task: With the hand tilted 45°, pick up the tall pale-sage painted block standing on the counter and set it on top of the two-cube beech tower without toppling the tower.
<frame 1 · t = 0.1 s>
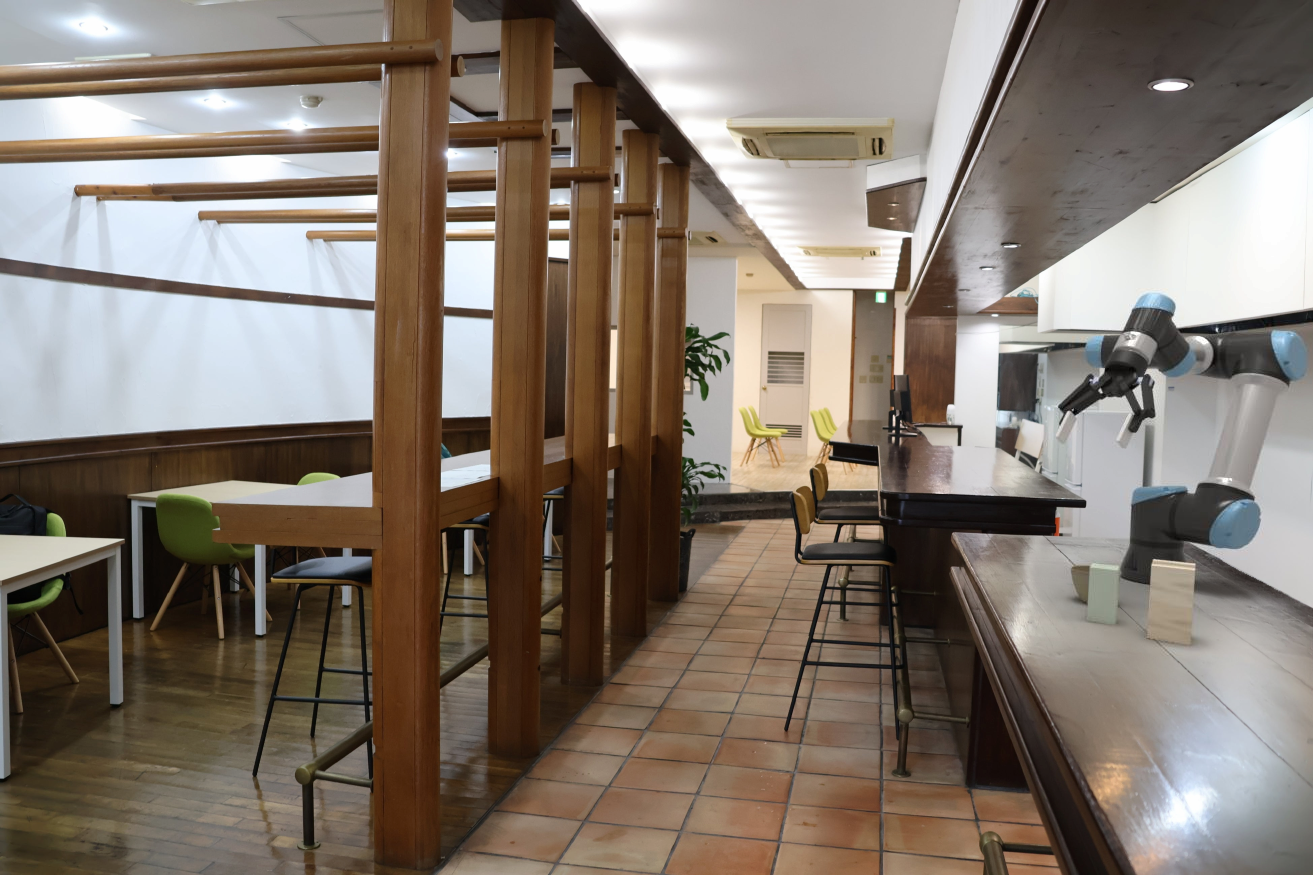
hand: (1089, 442, 180), 36 cm above the counter, tool tilted 35°, fingers open, 13 cm apart
tower base: (1169, 637, 168), on the counter, touching tower top
flower pot: (1094, 602, 194), on the counter
sage block: (1102, 620, 179), on the counter
tower top: (1171, 601, 167), point 7 cm above the counter, touching tower base
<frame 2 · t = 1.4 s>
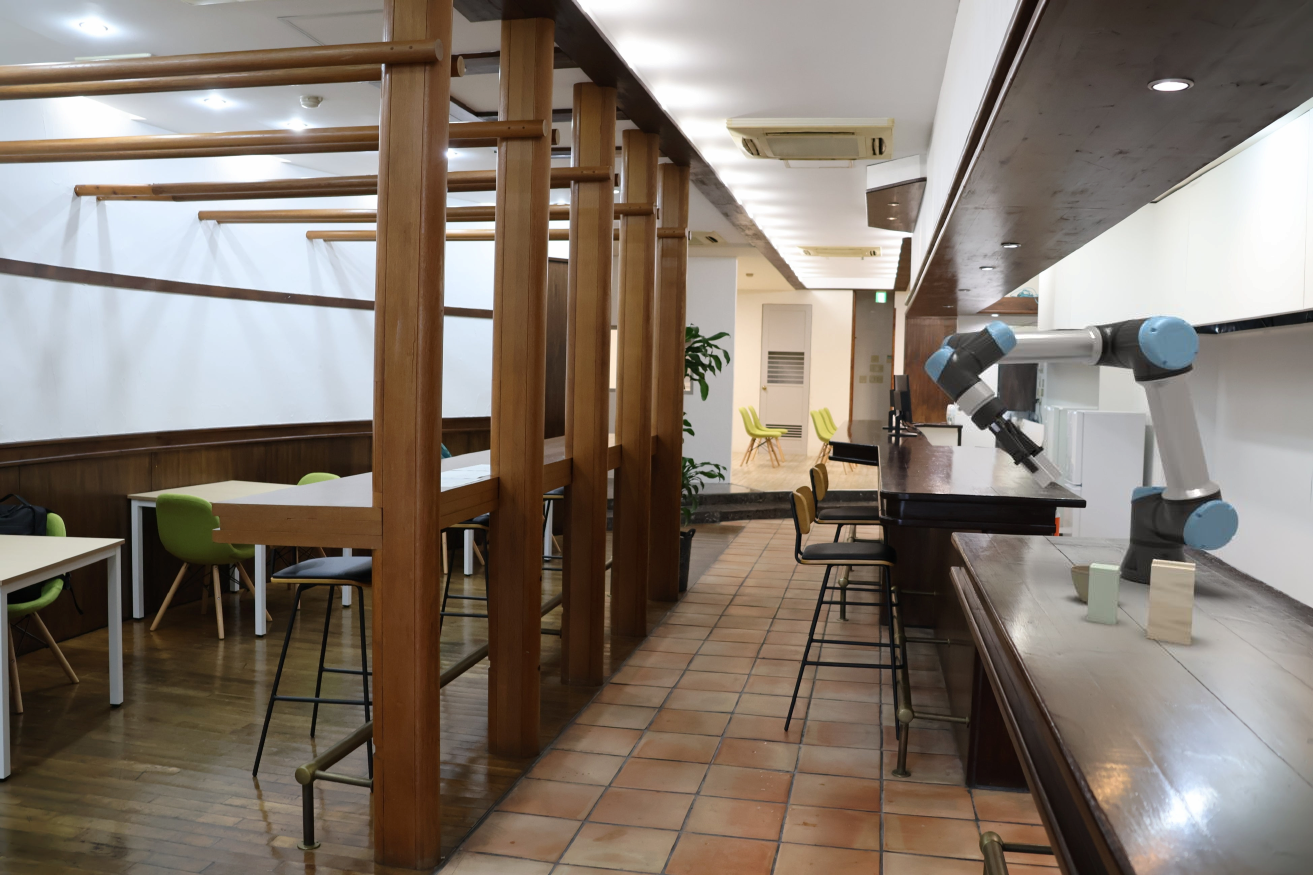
hand: (1053, 481, 186), 27 cm above the counter, tool tilted 45°, fingers open, 13 cm apart
nothing on the counter moved.
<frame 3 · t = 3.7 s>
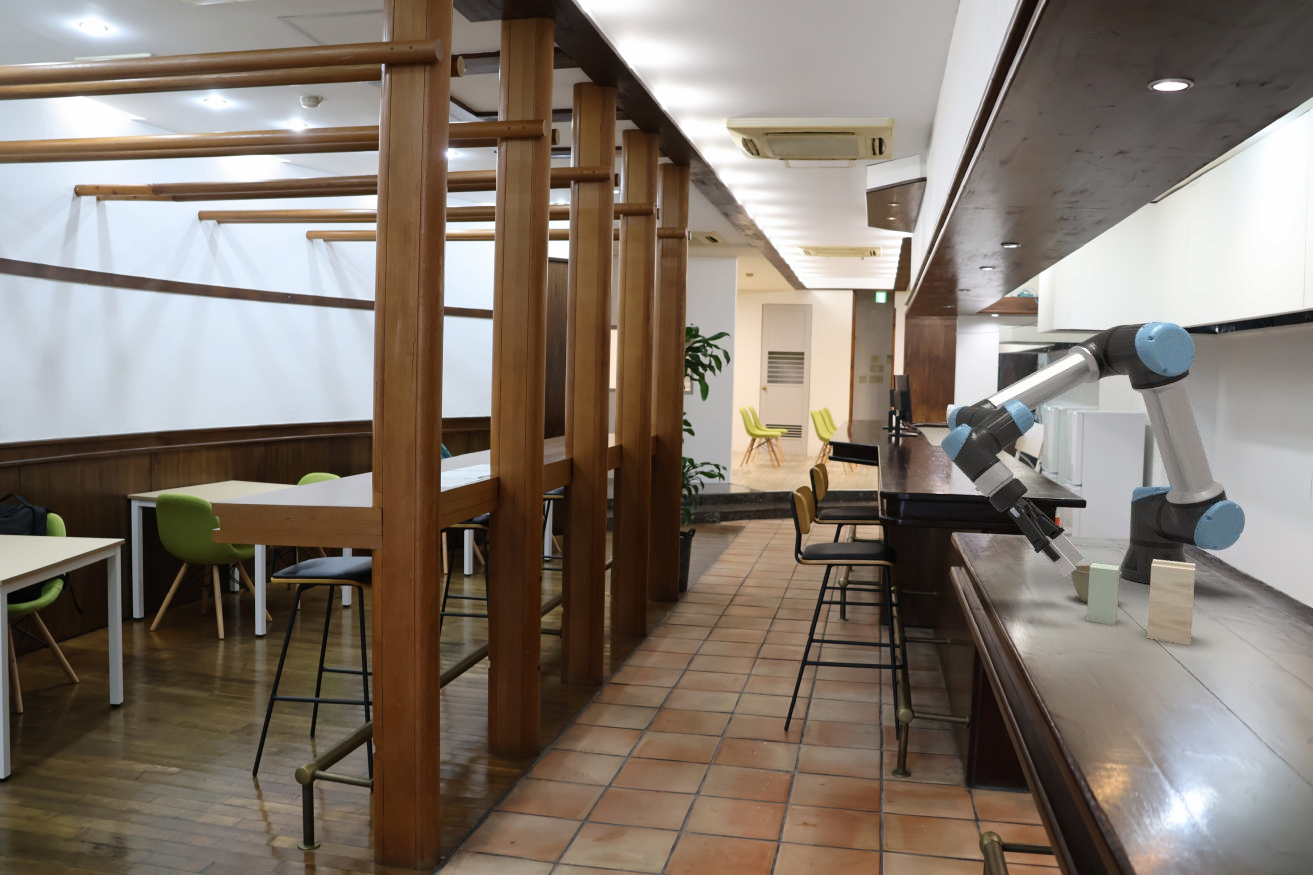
hand: (1075, 567, 180), 10 cm above the counter, tool tilted 45°, fingers open, 13 cm apart
nothing on the counter moved.
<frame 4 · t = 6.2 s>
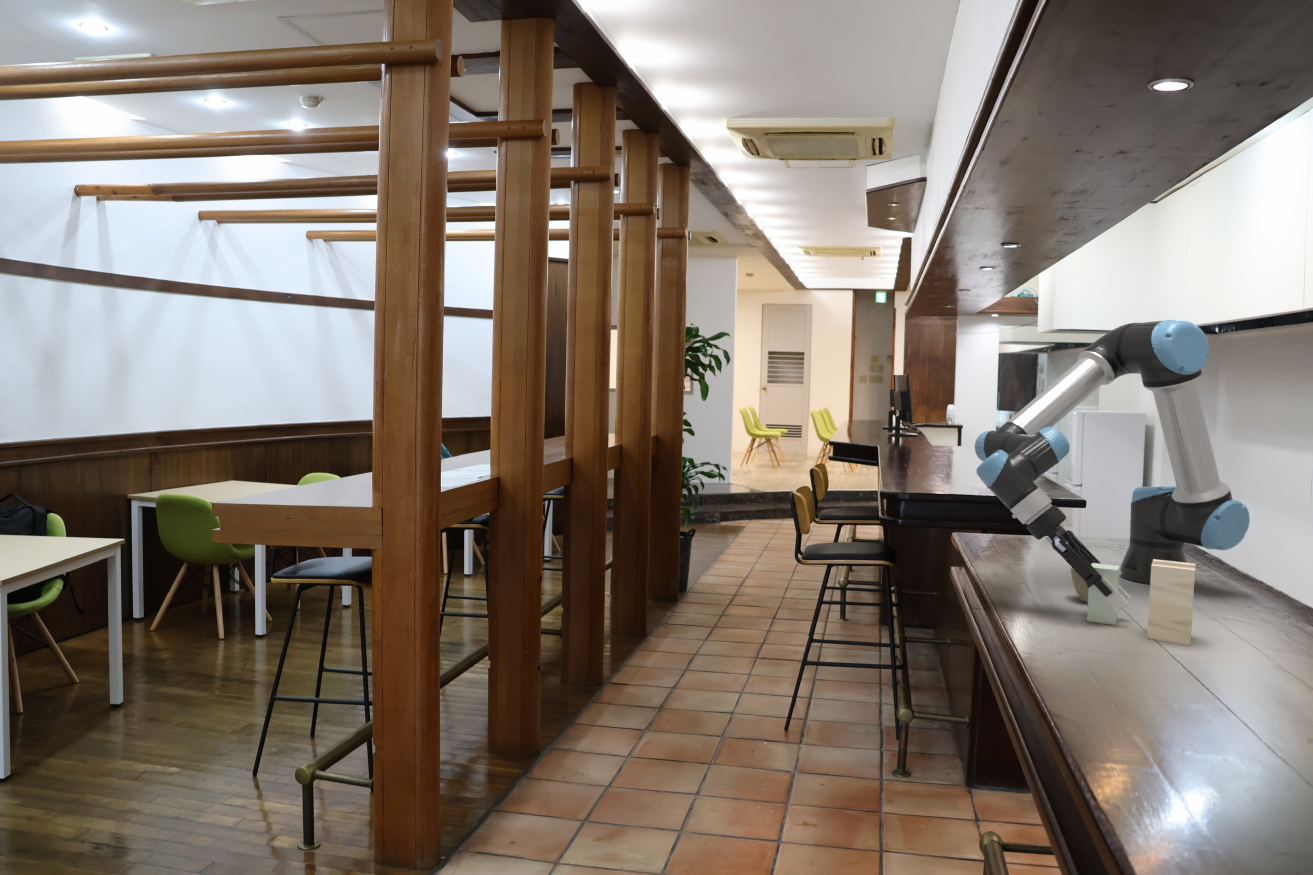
hand: (1123, 604, 177), 4 cm above the counter, tool tilted 45°, fingers closed on sage block, 5 cm apart
sage block: (1102, 620, 179), on the counter, touching gripper
everything else where it was.
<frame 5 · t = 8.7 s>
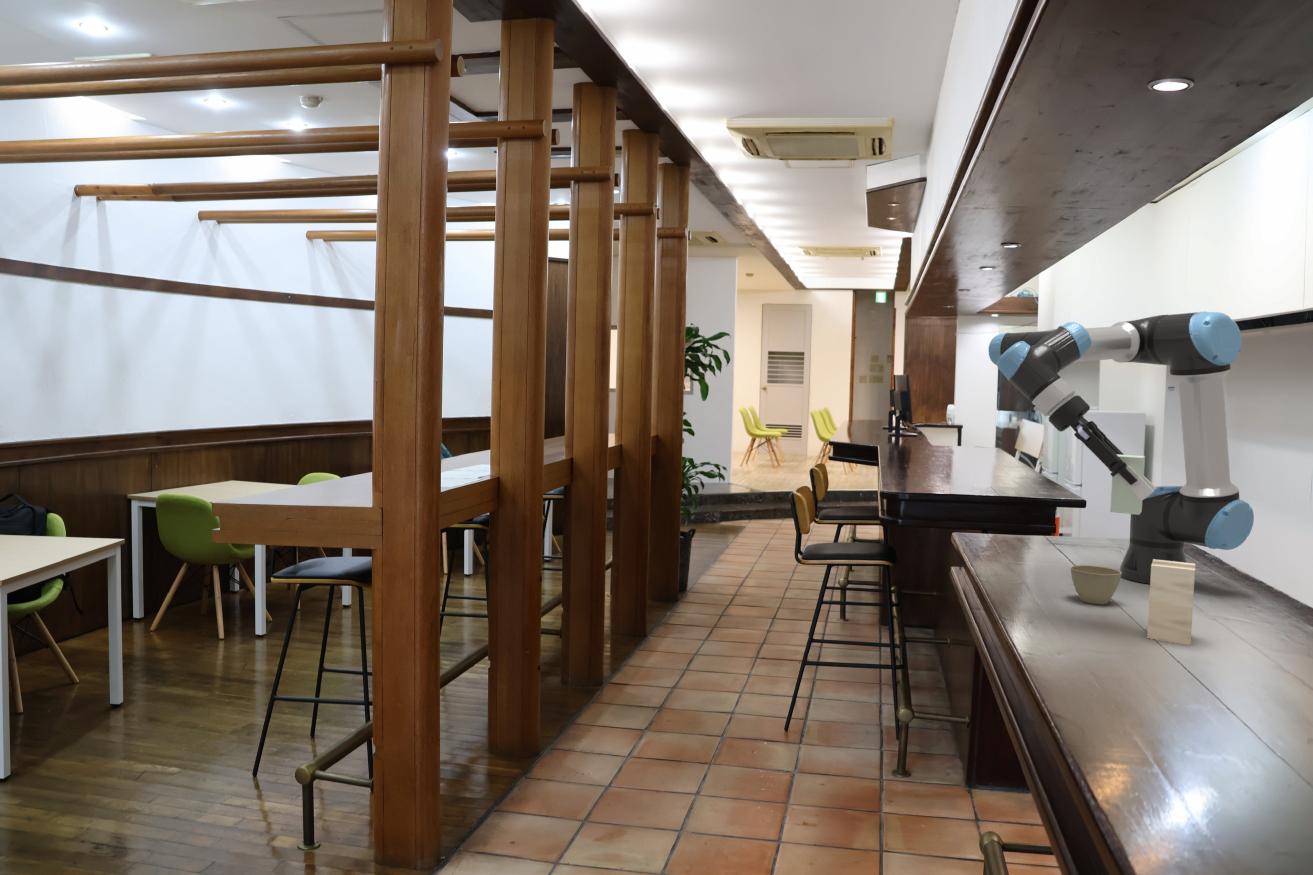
hand: (1149, 494, 171), 27 cm above the counter, tool tilted 45°, fingers closed on sage block, 5 cm apart
sage block: (1126, 511, 173), point 23 cm above the counter, touching gripper
everything else where it was.
when the fingers open (19 cm above the counter, at t = 11.4 s): sage block drops 1 cm, resting on tower top.
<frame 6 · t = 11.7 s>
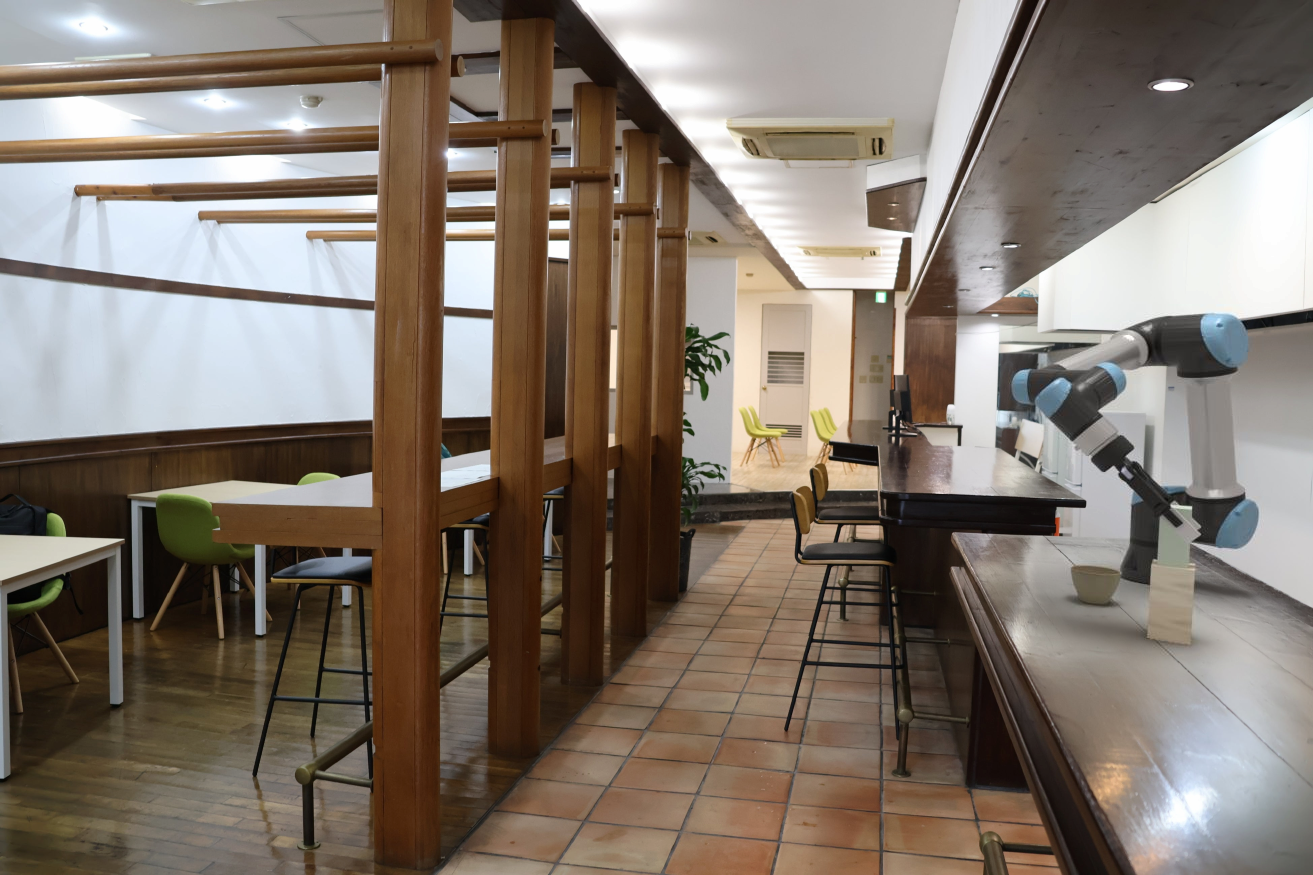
hand: (1194, 535, 165), 20 cm above the counter, tool tilted 45°, fingers open, 9 cm apart
sage block: (1173, 564, 167), point 14 cm above the counter, touching tower top
tower top: (1171, 601, 167), point 7 cm above the counter, touching sage block, tower base
everything else where it was.
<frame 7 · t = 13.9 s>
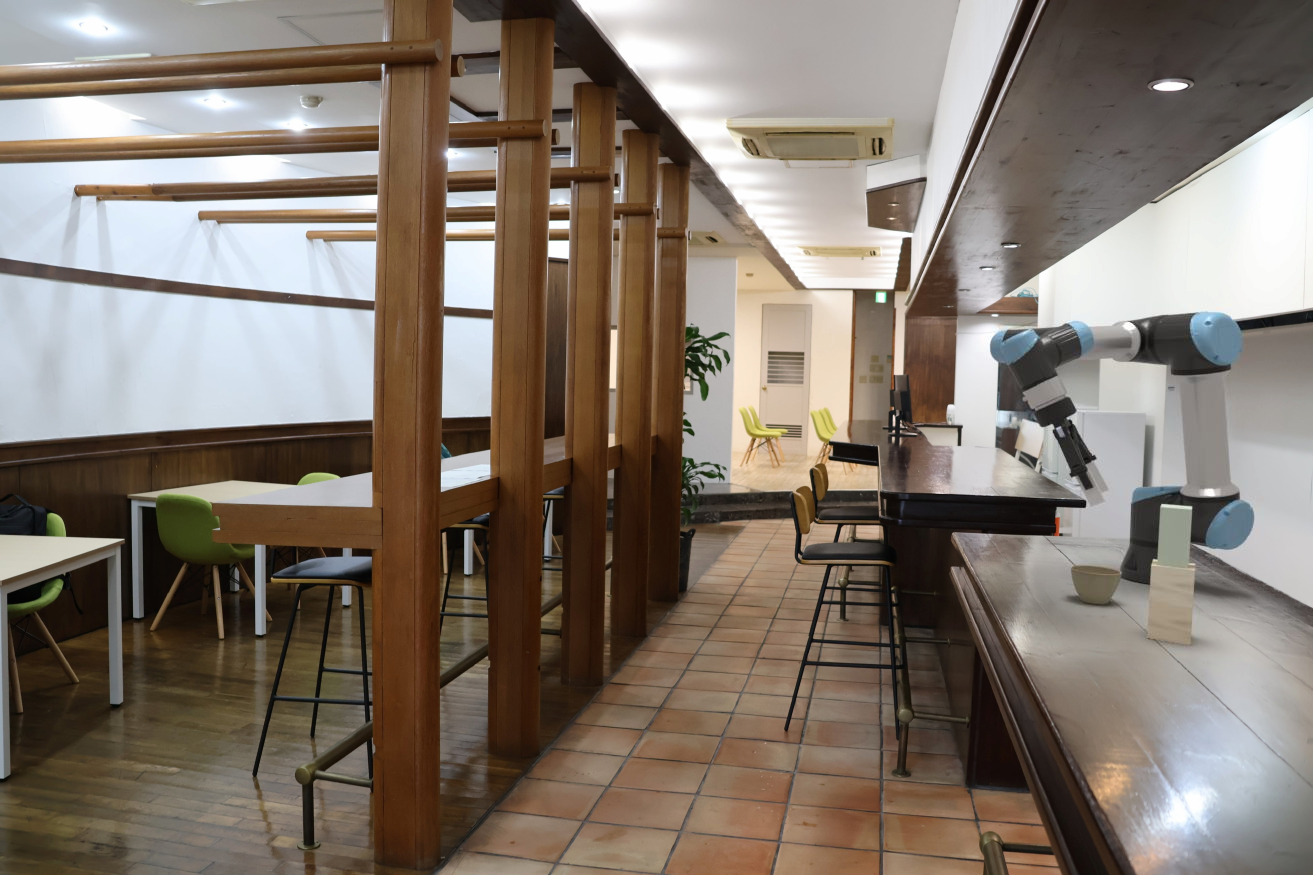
hand: (1100, 498, 177), 25 cm above the counter, tool tilted 30°, fingers open, 13 cm apart
nothing on the counter moved.
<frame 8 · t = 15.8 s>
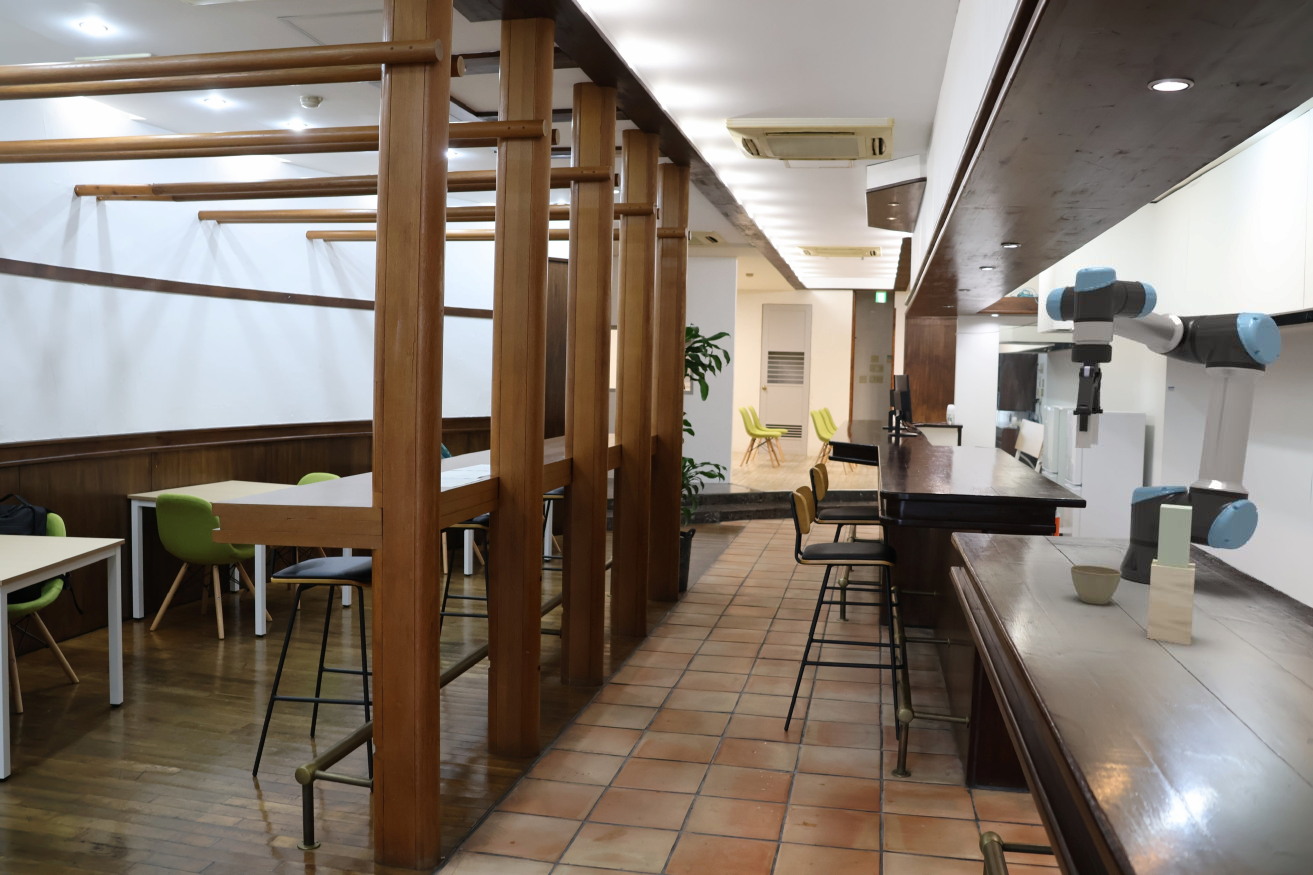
hand: (1086, 446, 184), 35 cm above the counter, tool pointing down, fingers open, 13 cm apart
nothing on the counter moved.
at the end: sage block 0.1 cm off-centre on the tower base, point 14.0 cm above the tower base's base; tower top moved 0.1 cm from its start; sage block tilted 0° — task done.
